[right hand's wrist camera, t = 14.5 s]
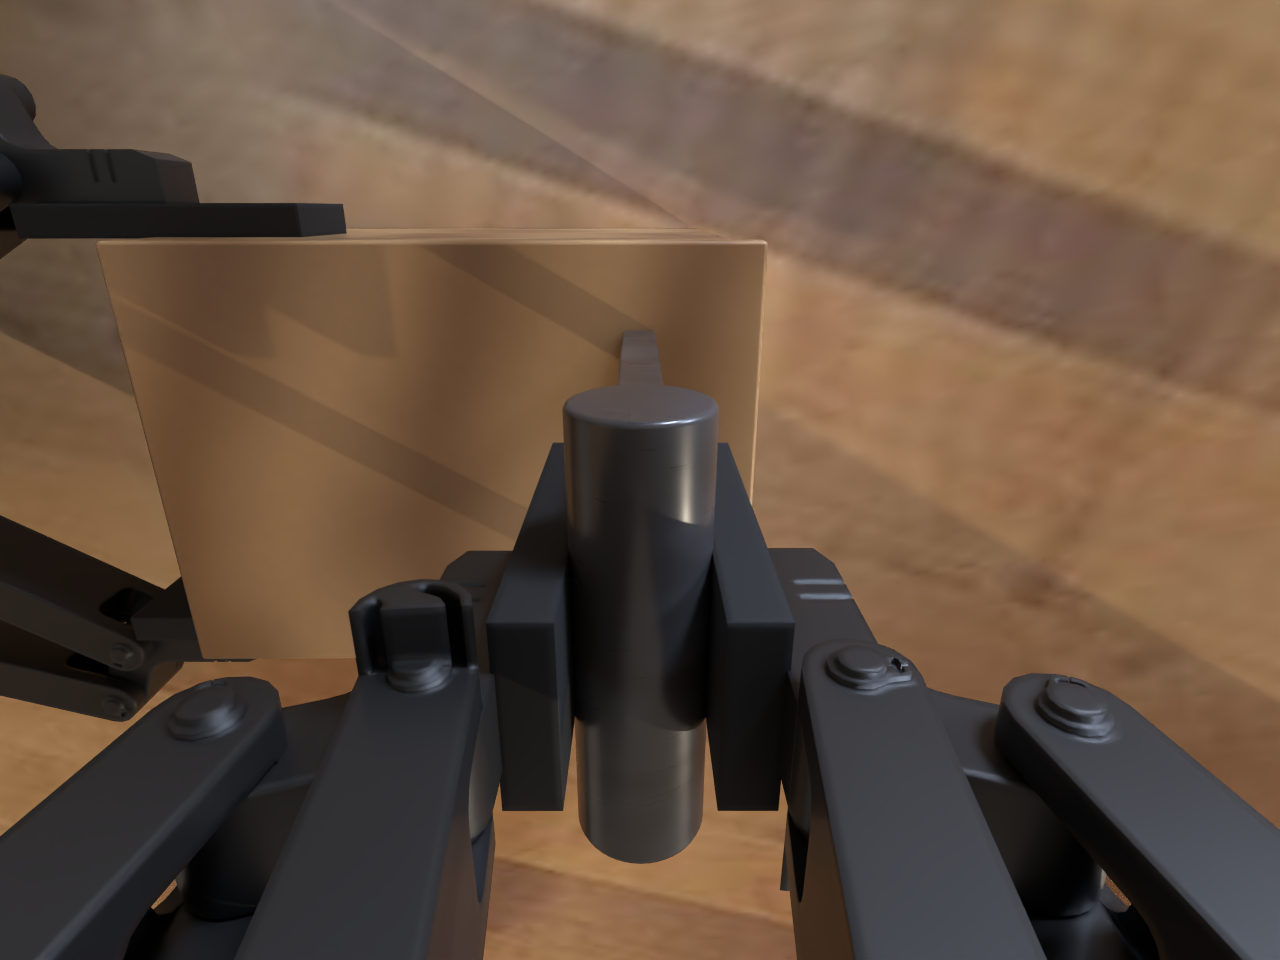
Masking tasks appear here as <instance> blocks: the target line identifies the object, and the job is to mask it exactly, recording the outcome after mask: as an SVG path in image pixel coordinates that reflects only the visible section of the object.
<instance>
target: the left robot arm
mask: <svg viewBox="0 0 1280 960" xmlns="http://www.w3.org/2000/svg"><path fill="white" fill-rule="evenodd" d="M35 116H36V105H35V102H34V100H33V97H32V94H31V93H30V92H29V90H28V89H27V88H26V86H25V85H24V84H22V83H21V82H20V81H18V80H17V79H16V78H12V77H9V76H6V75H2V74H0V259H1V258H2V257H4V256H5V255H6V254H8V253H9V252H10V251H12V250H13V249H14V248H16V247H17V246H18V245H19V244H21V243H22V242H23V241H25V240H26V239H27V238H153V237H311V236H322V235H334V234H346V233H347V232H346V225H345V218H344V210H343V204H309V203H199V198H198V193H197V189H196V184H195V179H194V174H193V169H192V164H191V162H188V161H186V160H183V159H181V158H178V157H176V156H173V155H171V154H166V153H158V152H149V151H141V150H132V149H108V150H105V149H90V150H87V149H57V148H56V147H54V146H52V145H51V144H50V143H49V142H48V141H47V140H46V139H45V138H44V137H43V136H42V134H41V133H40V132H39V130H38V129H37V127H36V125H35V124H34V122H33V120H34V118H35ZM125 622H126V623H125ZM124 623H125V624H124ZM252 660H255V659H205V658H203V657H202V654H201V650H200V646H199V642H198V638H197V634H196V630H195V627H194V623H193V619H192V615H191V611H190V607H189V603H188V600H187V596H186V592H185V588H184V584H183V580H182V576H181V577H180V578H179V579H178V580H176V581H175V582H174V583H173V584H171V585H170V586H169V587H168V588H166V589H165V590H164V589H162V588H160V587H158V586H156V585H153V584H151V583H149V582H147V581H145V580H142V579H140V578H138V577H136V576H133V575H131V574H129V573H127V572H125V571H122V570H120V569H118V568H116V567H114V566H111V565H109V564H107V563H105V562H103V561H100V560H98V559H96V558H94V557H91V556H89V555H87V554H85V553H83V552H80V551H78V550H76V549H74V548H72V547H69V546H67V545H65V544H63V543H60V542H58V541H56V540H54V539H52V538H49V537H47V536H45V535H43V534H41V533H38V532H36V531H34V530H32V529H29V528H27V527H25V526H23V525H21V524H18V523H16V522H14V521H12V520H10V519H7V518H5V517H3V516H1V515H0V696H5V697H9V698H14V699H18V700H23V701H27V702H32V703H36V704H40V705H45V706H49V707H54V708H58V709H63V710H67V711H71V712H76V713H80V714H85V715H89V716H94V717H98V718H103V719H107V720H111V721H119V722H123V721H127V720H129V719H131V718H132V717H133V716H134V715H135V714H136V713H137V712H138V711H139V710H140V709H141V708H142V707H143V706H144V705H145V704H146V703H147V702H148V701H149V700H150V699H151V698H152V697H153V696H154V695H155V694H156V693H157V692H158V691H159V690H160V689H161V688H162V687H163V686H164V685H165V684H166V683H167V682H168V681H169V680H170V679H171V678H172V677H173V676H174V675H175V674H176V673H177V672H178V671H179V670H180V669H181V668H182V666H183V663H184V662H214V661H217V662H228V661H231V662H249V661H252Z"/></svg>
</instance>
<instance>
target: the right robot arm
mask: <svg viewBox="0 0 1280 960" xmlns="http://www.w3.org/2000/svg"><path fill="white" fill-rule="evenodd" d="M348 614H349V620H350V626H351V632H352V638H353V644H354V650H355V656H356V662H357V668H358V674H359V676H358V678H357V681H356V683H355V685H354V688H353V690H352V691H351V692H349V693H346V694H343V695H339V696H336V697H332V698H328V699H324V700H319V701H314V702H309V703H304V704H299V705H295V706H290V707H285V708H282V707H281V702H280V698H279V693H278V691H277V690H276V689H275V688H274V687H273V686H272V685H271V684H270V683H269V682H268V681H265V680H261V679H257V678H254V677H226V678H220V679H215V680H213V681H211V680H210V681H206V682H203V683H199V684H197V685H195V686H193V687H191V688H188V689H186V690H184V691H181V692H179V693H177V694H174V695H173V696H171V697H170V698H168V699H167V700H165V701H164V702H162V703H161V704H159V705H158V706H156V707H154V708H153V709H151V710H150V711H149V712H148V713H147V714H145V715H144V716H143V717H142V718H141V719H140V720H138V721H137V722H136V723H135V724H134V725H132V726H131V727H130V728H129V729H128V730H126V731H125V732H124V733H123V734H122V735H120V736H119V737H118V738H117V739H116V740H115V741H113V742H112V743H111V744H110V745H109V746H107V747H106V748H105V749H104V750H103V751H101V752H100V753H99V754H98V755H97V756H95V757H94V758H93V759H92V760H91V761H90V762H88V763H87V764H86V765H85V766H84V767H82V768H81V769H80V770H79V771H78V772H76V773H75V774H74V775H73V776H72V777H70V778H69V779H68V780H67V781H66V782H65V783H63V784H62V785H61V786H60V787H59V788H57V789H56V790H55V791H54V792H53V793H51V794H50V795H49V796H48V797H47V798H45V799H44V800H43V801H42V802H41V803H40V804H38V805H37V806H36V807H35V808H34V809H32V810H31V811H30V812H29V813H28V814H26V815H25V816H24V817H23V818H22V819H20V820H19V821H18V822H17V823H16V824H15V825H13V826H12V827H11V828H10V829H9V830H7V831H6V832H5V833H4V834H3V835H1V836H0V960H483V955H484V945H485V936H486V927H487V918H488V908H489V899H490V890H491V881H492V871H493V862H494V853H495V833H494V822H493V808H494V803H495V799H496V795H497V791H498V787H499V783H500V788H501V800H502V811H563V806H564V799H565V791H566V783H567V775H568V767H569V759H570V752H571V744H572V736H573V728H574V720H575V701H574V676H573V651H572V626H571V601H570V575H569V551H568V538H567V513H566V488H565V463H564V443H552V446H551V449H550V451H549V454H548V457H547V460H546V462H545V465H544V468H543V470H542V473H541V476H540V478H539V481H538V484H537V486H536V489H535V492H534V494H533V497H532V500H531V503H530V505H529V508H528V511H527V513H526V516H525V519H524V521H523V524H522V527H521V529H520V532H519V535H518V538H517V540H516V543H515V546H514V548H513V551H467V552H465V553H464V554H463V555H461V556H460V557H459V558H457V559H456V560H454V561H453V562H452V563H450V564H449V565H447V567H446V569H445V570H444V572H443V574H442V576H441V578H440V580H435V579H417V580H410V581H403V582H397V583H394V584H391V585H388V586H385V587H382V588H379V589H376V590H374V591H373V592H371V593H369V594H367V595H366V596H364V597H362V598H360V599H359V600H358V601H357V602H356V603H355V604H354V605H353V607H352V608H351V609H350V610H349V611H348ZM706 722H707V730H708V738H709V746H710V753H711V761H712V769H713V777H714V785H715V793H716V800H717V808H718V811H778V808H779V797H780V786H781V780H782V784H783V788H784V792H785V796H786V800H787V805H788V812H787V822H786V833H785V843H784V854H783V864H782V874H781V885H780V890H784V891H789V890H790V898H791V907H792V916H793V925H794V935H795V944H796V953H797V960H1280V830H1279V829H1278V828H1276V827H1275V826H1274V825H1273V824H1272V823H1270V822H1269V821H1268V820H1267V819H1266V818H1264V817H1263V816H1262V815H1261V814H1260V813H1258V812H1257V811H1256V810H1255V809H1254V808H1252V807H1251V806H1250V805H1249V804H1248V803H1246V802H1245V801H1244V800H1243V799H1242V798H1240V797H1239V796H1238V795H1237V794H1236V793H1234V792H1233V791H1232V790H1231V789H1230V788H1228V787H1227V786H1226V785H1225V784H1224V783H1222V782H1221V781H1220V780H1219V779H1218V778H1216V777H1215V776H1214V775H1213V774H1212V773H1210V772H1209V771H1208V770H1207V769H1206V768H1204V767H1203V766H1202V765H1201V764H1199V763H1198V762H1197V761H1196V760H1195V759H1193V758H1192V757H1191V756H1190V755H1189V754H1187V753H1186V752H1185V751H1184V750H1183V749H1181V748H1180V747H1179V746H1178V745H1177V744H1175V743H1174V742H1173V741H1172V740H1171V739H1169V738H1168V737H1167V736H1166V735H1165V734H1163V733H1162V732H1161V731H1160V730H1159V729H1157V728H1156V727H1155V726H1154V725H1153V724H1151V723H1150V722H1149V721H1148V720H1147V719H1145V718H1144V717H1143V716H1142V715H1141V714H1139V713H1138V712H1137V711H1136V710H1135V709H1133V708H1132V707H1131V706H1130V705H1128V704H1127V703H1125V702H1123V701H1122V700H1120V699H1119V698H1117V697H1116V696H1114V695H1113V694H1111V693H1110V692H1108V691H1106V690H1104V689H1101V688H1099V687H1096V686H1094V685H1092V684H1089V683H1087V682H1086V681H1083V680H1080V679H1077V678H1073V677H1067V676H1063V675H1057V674H1035V673H1031V674H1027V675H1023V676H1019V677H1016V678H1013V679H1012V680H1011V681H1010V682H1009V683H1008V684H1007V685H1006V686H1005V687H1004V688H1003V693H1002V697H1001V702H1000V705H997V704H992V703H987V702H982V701H977V700H972V699H968V698H963V697H958V696H953V695H950V694H946V693H942V692H938V691H935V690H933V689H930V688H928V687H927V686H926V684H925V682H924V680H923V677H922V675H921V674H920V672H919V671H918V670H917V668H916V667H915V666H914V664H913V663H912V662H911V661H910V660H909V659H907V658H906V657H904V656H903V655H901V654H900V653H898V652H897V651H895V650H893V649H891V648H888V647H885V646H883V645H880V644H878V643H877V641H876V639H875V638H874V636H873V634H872V632H871V630H870V628H869V627H868V625H867V623H866V621H865V619H864V617H863V616H862V614H861V612H860V610H859V608H858V606H857V605H856V603H855V601H854V599H852V595H851V594H850V592H849V590H848V588H847V586H846V584H844V581H843V579H842V577H841V575H840V573H839V572H838V570H837V568H836V566H835V564H834V563H833V562H831V561H830V560H829V559H827V558H826V557H824V556H823V555H822V554H820V553H819V552H817V551H816V550H815V549H813V548H767V546H766V543H765V541H764V538H763V535H762V533H761V530H760V527H759V525H758V522H757V519H756V517H755V514H754V511H753V508H752V506H751V503H750V500H749V498H748V495H747V492H746V490H745V487H744V484H743V482H742V479H741V476H740V474H739V471H738V468H737V465H736V463H735V460H734V457H733V455H732V452H731V449H730V447H729V444H728V443H718V448H717V473H716V497H715V522H714V546H713V553H712V578H711V603H710V627H709V652H708V677H707V702H706ZM1107 875H1108V876H1109V878H1110V879H1111V880H1112V881H1113V882H1114V883H1115V885H1116V886H1117V887H1118V888H1119V889H1120V890H1121V892H1122V893H1123V894H1124V895H1125V896H1126V897H1127V899H1128V900H1129V901H1130V902H1131V905H1130V906H1126V905H1125V904H1124V903H1123V902H1122V901H1121V900H1120V899H1119V898H1118V897H1117V896H1116V895H1115V894H1114V893H1113V892H1112V891H1111V889H1110V888H1109V887H1108V886H1107V885H1106V884H1105V879H1106V876H1107ZM174 879H175V880H176V883H177V886H176V887H175V888H174V890H173V891H172V892H171V893H170V894H169V896H168V897H167V898H166V899H165V900H164V901H163V902H161V903H160V904H159V905H158V906H157V907H156V908H154V909H152V908H151V906H152V905H153V904H154V903H155V901H156V900H157V899H158V898H159V897H160V896H161V894H162V893H163V892H164V891H165V890H166V889H167V887H168V886H169V885H170V884H171V883H172V882H173V880H174Z"/></svg>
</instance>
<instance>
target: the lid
mask: <svg viewBox="0 0 1280 960" xmlns="http://www.w3.org/2000/svg"><path fill="white" fill-rule="evenodd" d="M96 248H97V252H98V256H99V260H100V263H101V267H102V271H103V275H104V279H105V283H106V287H107V290H108V294H109V298H110V302H111V306H112V310H113V314H114V318H115V321H116V325H117V329H118V333H119V337H120V341H121V345H122V348H123V352H124V356H125V360H126V364H127V368H128V372H129V375H130V379H131V383H132V387H133V391H134V395H135V399H136V403H137V406H138V410H139V414H140V418H141V422H142V426H143V430H144V433H145V437H146V441H147V445H148V449H149V453H150V457H151V460H152V464H153V468H154V472H155V476H156V480H157V484H158V488H159V491H160V495H161V499H162V503H163V507H164V511H165V515H166V518H167V522H168V526H169V530H170V534H171V538H172V542H173V545H174V549H175V553H176V557H177V561H178V565H179V569H180V573H181V576H182V580H183V584H184V588H185V592H186V596H187V600H188V603H189V607H190V611H191V615H192V619H193V623H194V627H195V630H196V634H197V638H198V642H199V646H200V650H201V654H202V657H203V658H205V659H314V658H356V656H355V650H354V644H353V638H352V632H351V626H350V620H349V614H348V611H349V610H350V609H351V608H352V607H353V605H354V604H355V603H356V602H357V601H358V600H359V599H360V598H362V597H364V596H366V595H367V594H369V593H371V592H373V591H374V590H376V589H379V588H382V587H385V586H388V585H391V584H394V583H397V582H403V581H410V580H417V579H435V580H440V578H441V576H442V574H443V572H444V570H445V569H446V567H447V565H449V564H450V563H452V562H453V561H454V560H456V559H457V558H459V557H460V556H461V555H463V554H464V553H465V552H467V551H513V548H514V546H515V543H516V540H517V538H518V535H519V532H520V529H521V527H522V524H523V521H524V519H525V516H526V513H527V511H528V508H529V505H530V503H531V500H532V497H533V494H534V492H535V489H536V486H537V484H538V481H539V478H540V476H541V473H542V470H543V468H544V465H545V462H546V460H547V457H548V454H549V451H550V449H551V446H552V443H564V463H565V488H566V513H567V538H568V551H569V575H570V601H571V626H572V651H573V676H574V701H575V738H576V763H577V788H578V813H579V821H580V825H581V828H582V830H583V832H584V834H585V835H586V837H587V838H588V840H589V841H590V842H591V843H592V844H593V845H594V846H595V847H596V848H597V849H598V850H599V851H601V852H602V853H604V854H605V855H607V856H609V857H611V858H614V859H616V860H620V861H623V862H628V863H638V864H643V863H653V862H658V861H662V860H665V859H668V858H670V857H672V856H674V855H676V854H677V853H679V852H681V851H682V850H683V849H684V848H686V847H687V846H688V845H689V844H690V843H691V841H692V840H693V838H694V837H695V836H696V834H697V832H698V830H699V828H700V825H701V822H702V815H703V791H704V767H705V742H706V702H707V677H708V652H709V627H710V603H711V578H712V553H713V546H714V522H715V497H716V473H717V448H718V443H728V444H729V447H730V449H731V452H732V455H733V457H734V460H735V463H736V465H737V468H738V471H739V474H740V476H741V479H742V482H743V484H744V487H745V490H746V492H747V495H748V498H749V500H750V503H751V506H752V497H753V480H754V464H755V447H756V431H757V414H758V398H759V381H760V365H761V348H762V332H763V316H764V299H765V283H766V266H767V250H768V245H767V242H766V241H763V240H759V239H120V240H103V241H99V242H97V243H96Z"/></svg>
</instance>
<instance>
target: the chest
mask: <svg viewBox="0 0 1280 960" xmlns="http://www.w3.org/2000/svg"><path fill="white" fill-rule="evenodd" d="M346 232H347V233H346V234H334V235H322V236H311V237H153V238H136V239H726V238H723V237H720V236H717V235H714V234H711V233H708V232H705V231H702V230H699V229H695V228H346Z"/></svg>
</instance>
